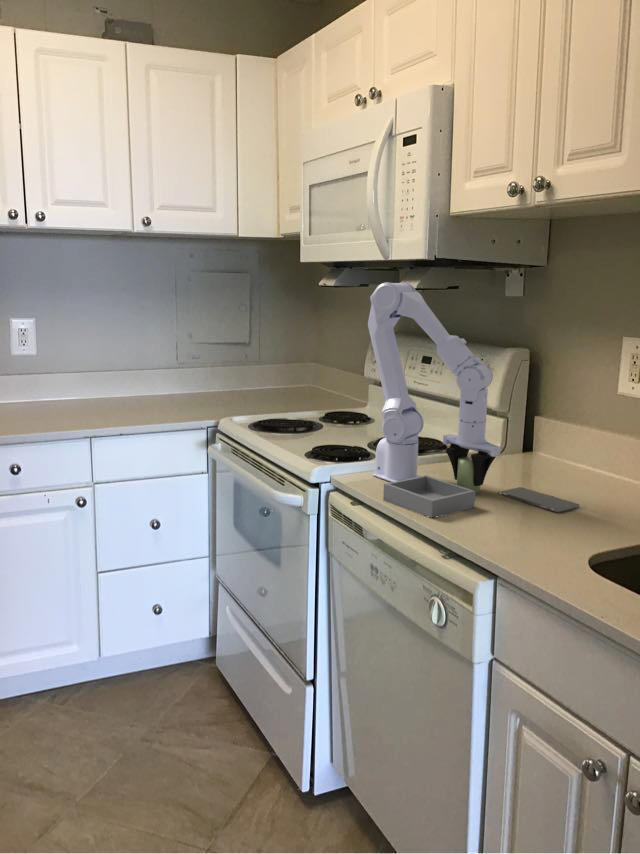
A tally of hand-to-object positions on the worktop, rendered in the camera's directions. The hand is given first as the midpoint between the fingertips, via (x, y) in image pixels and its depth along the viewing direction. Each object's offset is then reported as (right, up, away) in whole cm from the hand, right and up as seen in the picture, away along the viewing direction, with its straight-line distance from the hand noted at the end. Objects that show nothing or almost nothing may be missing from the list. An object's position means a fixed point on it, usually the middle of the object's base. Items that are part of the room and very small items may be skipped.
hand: (468, 482), depth 159 cm
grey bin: (-10, -4, -9) cm, 14 cm away
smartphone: (+13, -4, -6) cm, 15 cm away
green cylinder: (0, -2, 0) cm, 2 cm away
